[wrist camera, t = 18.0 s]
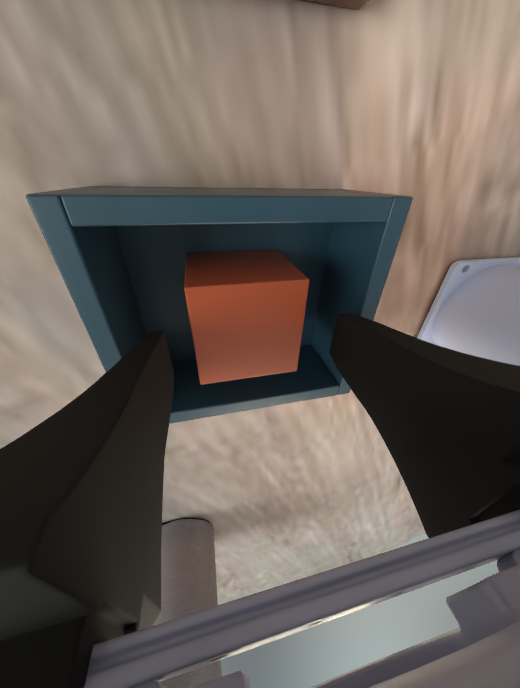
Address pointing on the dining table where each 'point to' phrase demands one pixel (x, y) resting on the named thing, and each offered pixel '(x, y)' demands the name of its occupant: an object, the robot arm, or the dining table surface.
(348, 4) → the box lid with knob
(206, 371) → the block
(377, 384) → the robot arm
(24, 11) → the dining table surface
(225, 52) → the dining table surface
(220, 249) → the toy box
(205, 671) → the pillar candle
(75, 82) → the dining table surface
